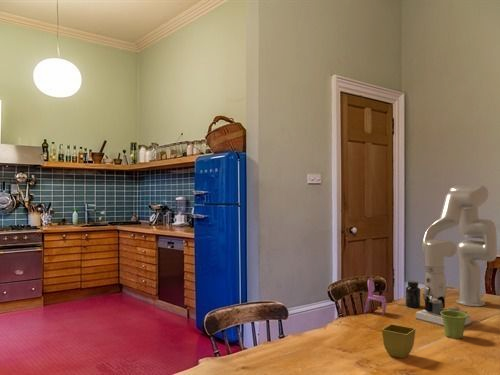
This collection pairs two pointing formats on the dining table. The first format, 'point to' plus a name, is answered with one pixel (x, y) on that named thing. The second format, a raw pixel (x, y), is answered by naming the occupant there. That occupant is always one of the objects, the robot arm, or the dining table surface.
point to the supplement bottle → (412, 295)
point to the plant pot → (454, 323)
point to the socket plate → (435, 318)
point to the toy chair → (374, 297)
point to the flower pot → (398, 340)
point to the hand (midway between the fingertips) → (435, 309)
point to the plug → (437, 307)
